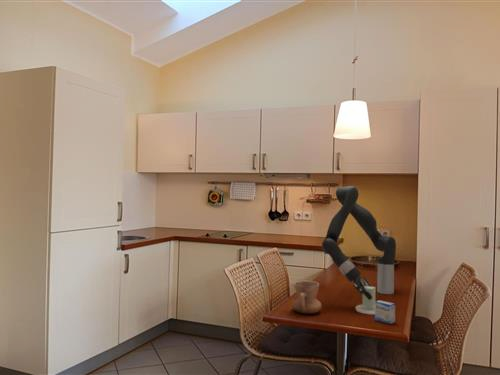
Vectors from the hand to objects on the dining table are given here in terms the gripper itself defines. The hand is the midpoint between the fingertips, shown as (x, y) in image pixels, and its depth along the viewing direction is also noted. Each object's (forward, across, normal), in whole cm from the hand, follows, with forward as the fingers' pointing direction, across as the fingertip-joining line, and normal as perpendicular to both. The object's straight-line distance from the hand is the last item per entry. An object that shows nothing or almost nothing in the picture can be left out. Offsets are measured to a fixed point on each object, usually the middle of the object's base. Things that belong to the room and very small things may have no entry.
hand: (372, 297), depth 206 cm
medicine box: (+12, -12, -2) cm, 17 cm away
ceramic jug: (-14, -20, +24) cm, 34 cm away
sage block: (+2, 0, +4) cm, 5 cm away
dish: (+4, 0, +6) cm, 7 cm away
